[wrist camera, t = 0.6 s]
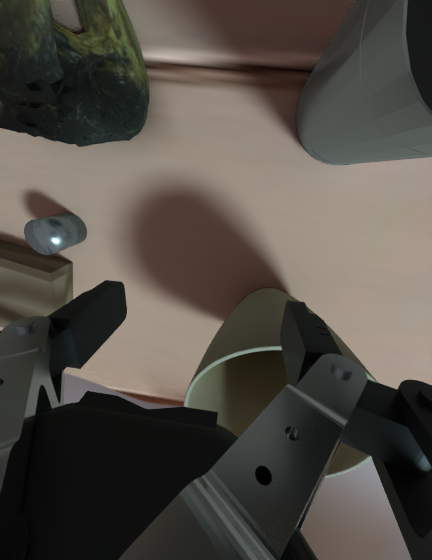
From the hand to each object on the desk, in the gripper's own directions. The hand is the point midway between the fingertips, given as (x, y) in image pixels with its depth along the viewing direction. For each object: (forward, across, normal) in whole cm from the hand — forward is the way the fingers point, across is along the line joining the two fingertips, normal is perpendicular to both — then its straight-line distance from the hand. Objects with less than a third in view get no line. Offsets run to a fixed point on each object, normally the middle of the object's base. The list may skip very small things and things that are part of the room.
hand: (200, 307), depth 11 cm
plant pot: (+18, -6, +10) cm, 22 cm away
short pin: (+18, +21, +1) cm, 27 cm away
